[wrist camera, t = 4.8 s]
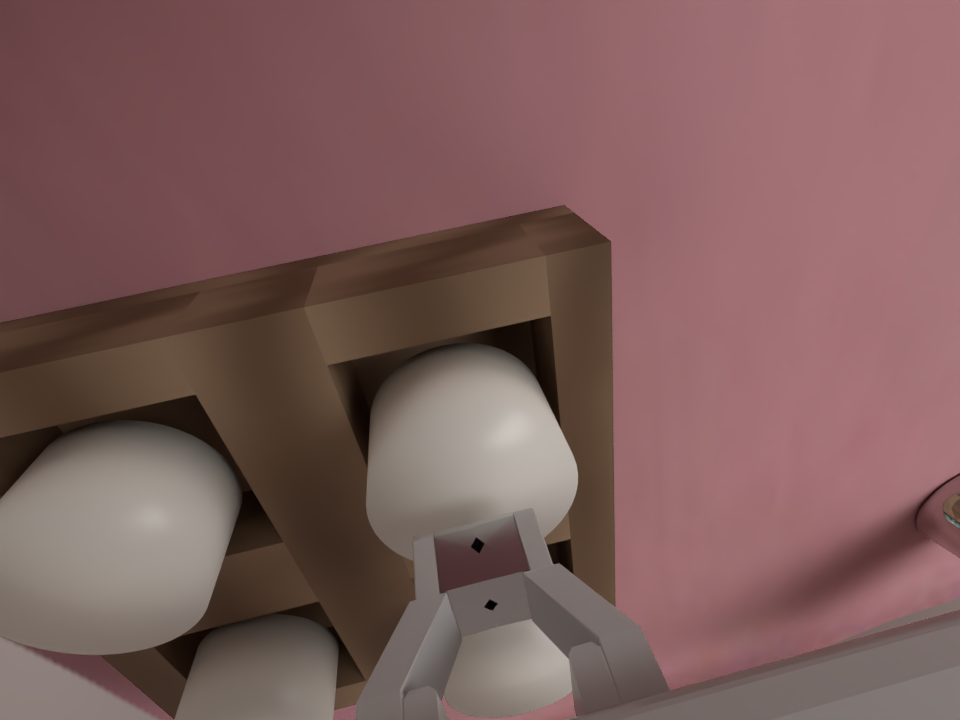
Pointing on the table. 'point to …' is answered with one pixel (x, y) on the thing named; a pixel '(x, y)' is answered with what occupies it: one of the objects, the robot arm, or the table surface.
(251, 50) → the table surface
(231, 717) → the button
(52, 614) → the button
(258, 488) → the wooden compartment tray
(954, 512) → the beer glass
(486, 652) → the button
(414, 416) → the button
